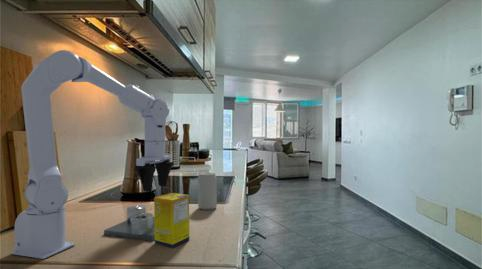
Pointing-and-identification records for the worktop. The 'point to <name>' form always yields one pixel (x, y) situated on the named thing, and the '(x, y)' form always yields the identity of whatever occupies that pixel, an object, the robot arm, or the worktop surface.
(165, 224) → the supplement box
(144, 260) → the worktop surface
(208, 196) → the beverage can
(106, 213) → the worktop surface
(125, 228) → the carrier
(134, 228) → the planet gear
